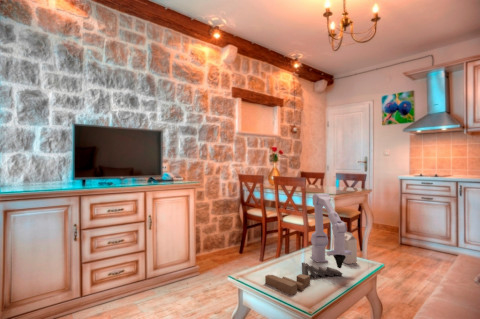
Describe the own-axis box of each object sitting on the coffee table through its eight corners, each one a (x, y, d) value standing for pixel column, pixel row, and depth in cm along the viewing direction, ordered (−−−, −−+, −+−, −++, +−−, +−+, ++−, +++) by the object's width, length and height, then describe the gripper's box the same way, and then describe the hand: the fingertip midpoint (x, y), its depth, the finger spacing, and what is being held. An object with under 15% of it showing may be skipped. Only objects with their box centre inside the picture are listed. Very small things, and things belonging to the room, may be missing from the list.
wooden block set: (293, 285, 127) (264, 273, 140) (293, 297, 127) (264, 284, 140) (312, 274, 139) (284, 265, 152) (312, 285, 139) (283, 275, 152)
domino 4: (332, 277, 149) (322, 273, 148) (328, 273, 154) (317, 269, 153) (333, 274, 149) (323, 270, 148) (329, 270, 154) (318, 266, 153)
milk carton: (349, 259, 176) (349, 230, 176) (356, 263, 169) (356, 233, 170) (340, 260, 174) (340, 231, 174) (347, 264, 167) (347, 234, 167)
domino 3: (323, 277, 148) (313, 271, 147) (319, 273, 153) (310, 267, 152) (325, 275, 148) (315, 268, 147) (321, 271, 153) (311, 265, 152)
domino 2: (314, 278, 147) (308, 268, 146) (311, 274, 152) (304, 264, 151) (317, 276, 147) (310, 266, 147) (313, 272, 152) (306, 262, 151)
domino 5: (337, 269, 155) (327, 266, 154) (342, 273, 150) (331, 270, 149) (336, 272, 155) (326, 269, 153) (341, 276, 150) (330, 273, 149)
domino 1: (305, 278, 146) (305, 266, 146) (302, 275, 151) (301, 262, 151) (308, 278, 146) (307, 265, 146) (304, 274, 151) (304, 262, 151)
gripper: (331, 246, 147) (331, 271, 147) (355, 245, 150) (354, 269, 149) (324, 242, 154) (324, 266, 154) (347, 241, 157) (347, 264, 156)
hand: (339, 267), depth 152 cm, fingers closed
